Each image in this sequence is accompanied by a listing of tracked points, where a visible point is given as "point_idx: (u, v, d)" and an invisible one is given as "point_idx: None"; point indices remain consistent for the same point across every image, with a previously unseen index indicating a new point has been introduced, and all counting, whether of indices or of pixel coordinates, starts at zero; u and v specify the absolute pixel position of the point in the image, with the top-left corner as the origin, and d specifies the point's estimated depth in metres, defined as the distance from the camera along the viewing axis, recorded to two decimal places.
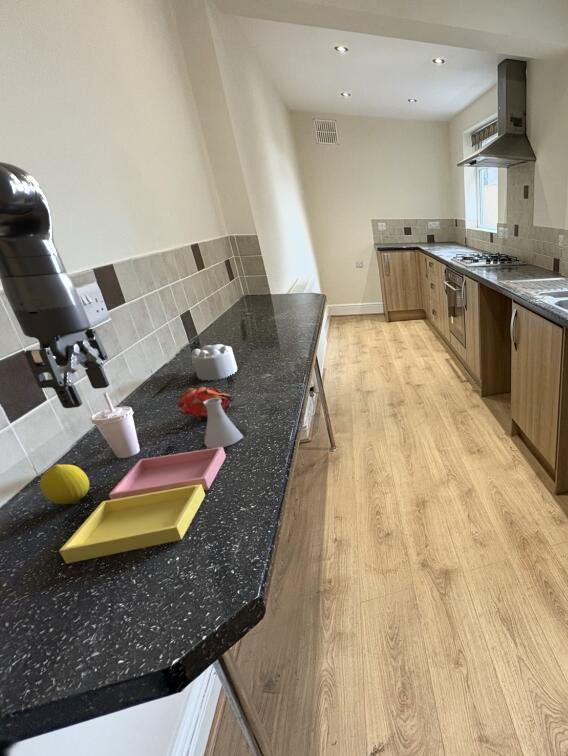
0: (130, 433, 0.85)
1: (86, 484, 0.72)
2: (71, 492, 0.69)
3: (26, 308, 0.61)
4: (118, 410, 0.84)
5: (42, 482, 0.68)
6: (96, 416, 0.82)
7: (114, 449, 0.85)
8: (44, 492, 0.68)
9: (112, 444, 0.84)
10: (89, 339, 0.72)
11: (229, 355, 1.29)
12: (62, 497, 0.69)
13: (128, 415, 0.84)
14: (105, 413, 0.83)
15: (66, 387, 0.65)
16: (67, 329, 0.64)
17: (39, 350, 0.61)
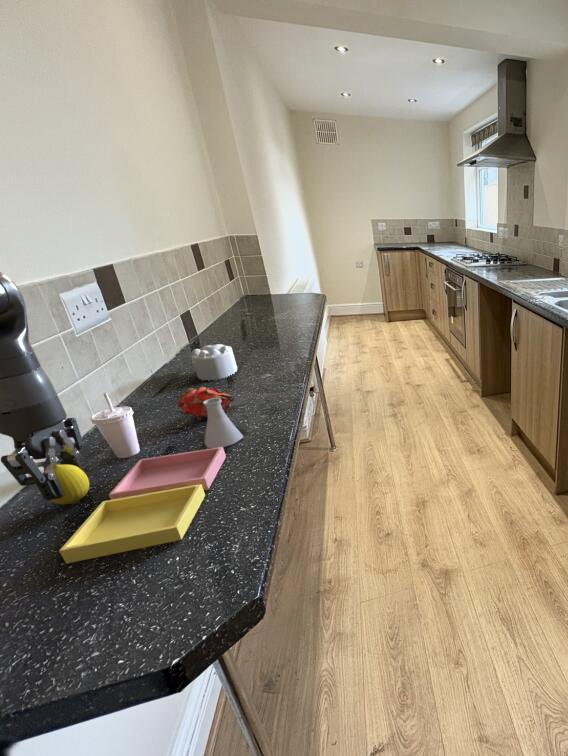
0: (130, 433, 0.85)
1: (86, 484, 0.72)
2: (71, 492, 0.69)
3: None
4: (118, 410, 0.84)
5: None
6: (96, 416, 0.82)
7: (114, 449, 0.85)
8: None
9: (112, 444, 0.84)
10: (67, 428, 0.72)
11: (229, 355, 1.29)
12: (62, 497, 0.69)
13: (128, 415, 0.84)
14: (105, 413, 0.83)
15: (48, 481, 0.66)
16: (42, 425, 0.64)
17: (15, 456, 0.61)
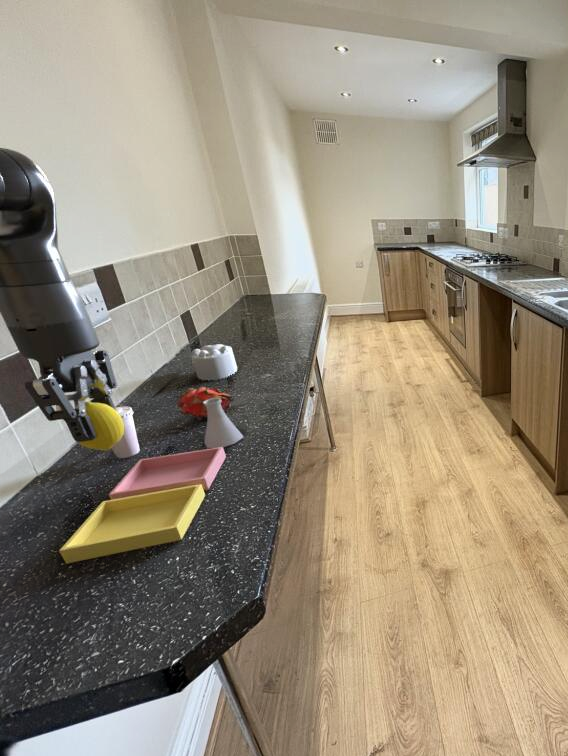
0: (130, 433, 0.85)
1: (121, 427, 0.61)
2: (105, 434, 0.59)
3: (23, 324, 0.50)
4: (118, 410, 0.84)
5: None
6: None
7: (114, 449, 0.85)
8: None
9: None
10: (98, 361, 0.61)
11: (229, 355, 1.29)
12: (94, 440, 0.58)
13: (128, 415, 0.84)
14: None
15: (79, 418, 0.56)
16: (72, 348, 0.54)
17: (42, 381, 0.51)
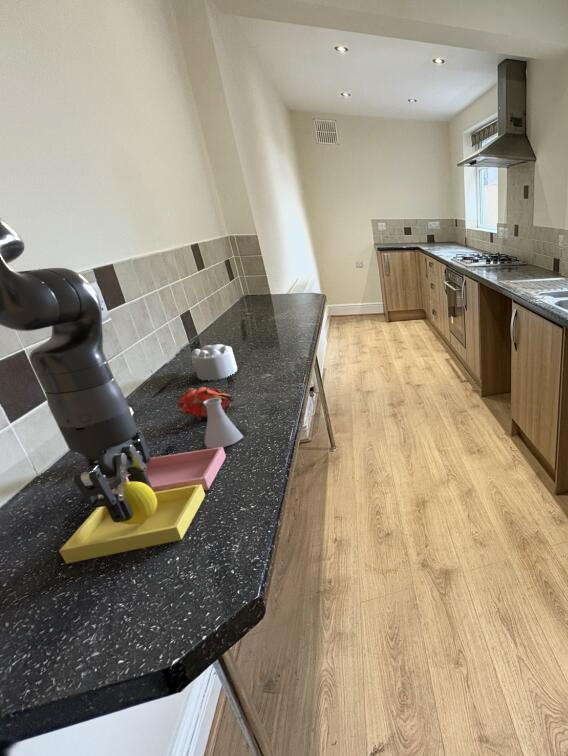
0: None
1: (155, 503, 0.66)
2: (141, 511, 0.64)
3: (73, 425, 0.56)
4: None
5: None
6: None
7: None
8: None
9: None
10: (134, 441, 0.67)
11: (229, 355, 1.29)
12: (132, 518, 0.63)
13: None
14: None
15: (118, 502, 0.60)
16: (115, 441, 0.59)
17: (89, 474, 0.56)
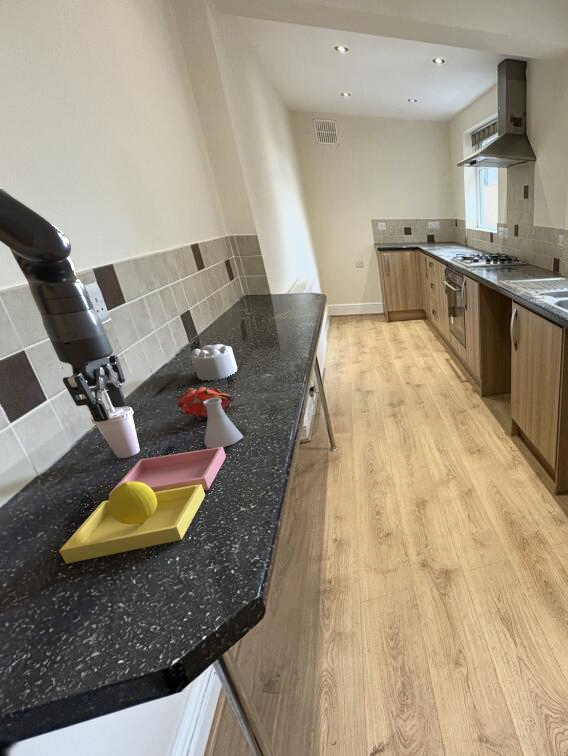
0: (130, 433, 0.85)
1: (155, 502, 0.66)
2: (141, 511, 0.64)
3: (62, 339, 0.74)
4: (118, 410, 0.84)
5: (111, 501, 0.62)
6: None
7: (114, 449, 0.85)
8: (113, 512, 0.63)
9: (112, 444, 0.84)
10: (111, 364, 0.85)
11: (229, 355, 1.29)
12: (132, 518, 0.63)
13: (128, 415, 0.84)
14: None
15: (97, 404, 0.79)
16: (94, 355, 0.77)
17: (74, 377, 0.74)
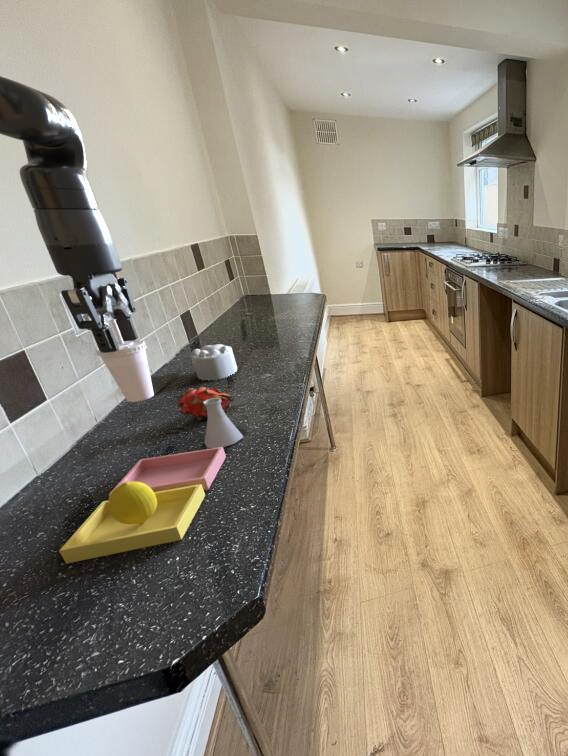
0: (142, 371, 0.71)
1: (155, 502, 0.66)
2: (141, 511, 0.64)
3: (60, 243, 0.59)
4: (129, 343, 0.70)
5: (111, 501, 0.62)
6: None
7: (124, 390, 0.70)
8: (113, 512, 0.63)
9: (121, 383, 0.69)
10: (120, 287, 0.70)
11: (229, 355, 1.29)
12: (132, 518, 0.63)
13: (141, 348, 0.70)
14: None
15: (104, 330, 0.64)
16: (101, 268, 0.63)
17: (76, 290, 0.60)
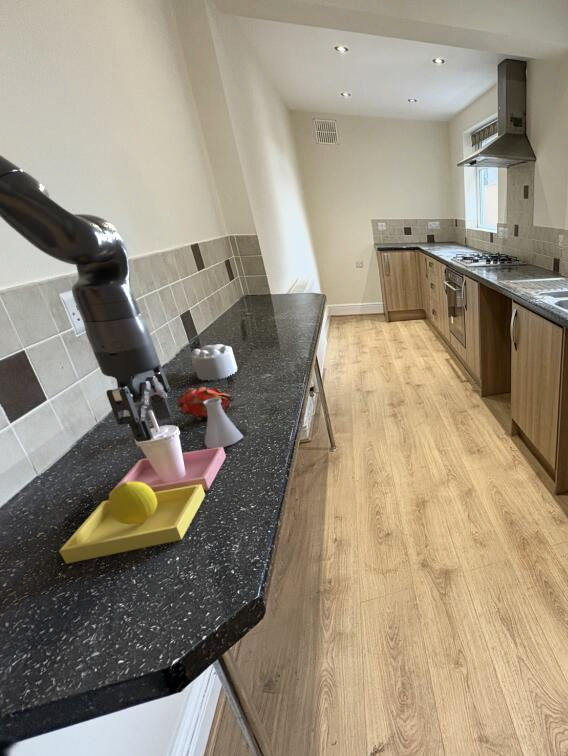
0: (176, 455, 0.76)
1: (155, 502, 0.66)
2: (141, 511, 0.64)
3: (107, 350, 0.65)
4: (164, 430, 0.75)
5: (111, 501, 0.62)
6: None
7: (159, 473, 0.76)
8: (113, 512, 0.63)
9: (157, 468, 0.75)
10: (155, 373, 0.76)
11: (229, 355, 1.29)
12: (132, 518, 0.63)
13: (175, 435, 0.75)
14: None
15: (140, 422, 0.69)
16: (142, 368, 0.68)
17: (119, 389, 0.65)
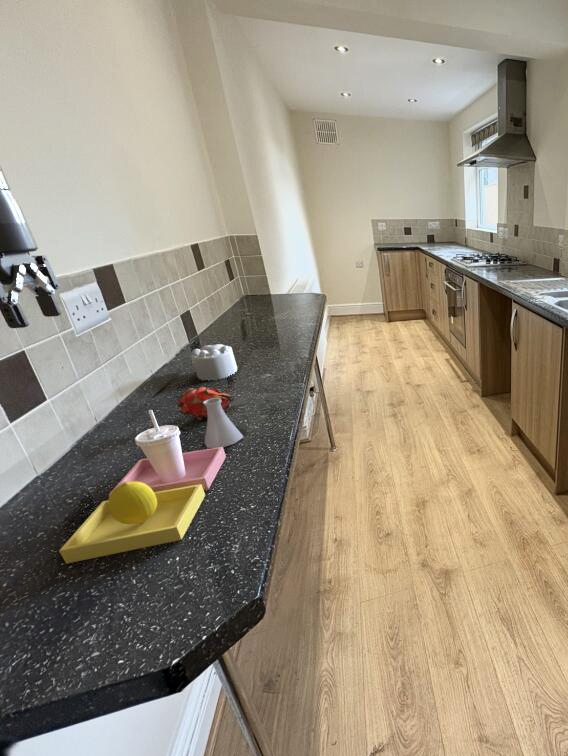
0: (176, 455, 0.76)
1: (155, 502, 0.66)
2: (141, 511, 0.64)
3: None
4: (164, 430, 0.75)
5: (111, 501, 0.62)
6: (141, 437, 0.73)
7: (159, 473, 0.76)
8: (113, 512, 0.63)
9: (158, 468, 0.75)
10: (39, 265, 0.72)
11: (229, 355, 1.29)
12: (132, 518, 0.63)
13: (175, 435, 0.75)
14: (150, 433, 0.74)
15: (11, 305, 0.65)
16: (11, 246, 0.64)
17: None
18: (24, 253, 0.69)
